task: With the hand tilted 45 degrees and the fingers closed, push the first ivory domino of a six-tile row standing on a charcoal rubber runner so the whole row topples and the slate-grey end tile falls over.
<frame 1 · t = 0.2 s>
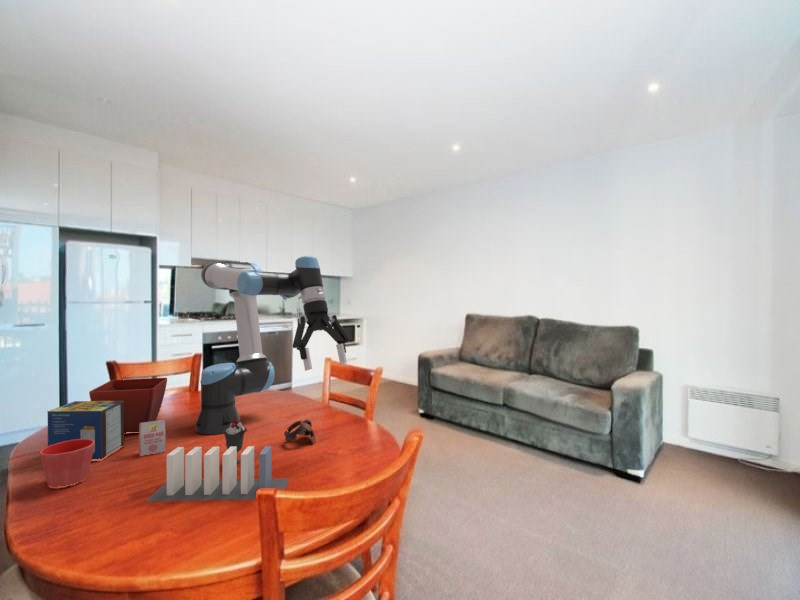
hand: (326, 366, 117), 28 cm above the table, tool tilted 20°, fingers open, 13 cm apart
domino 5: (247, 488, 96), resting on runner mat
runner mat: (221, 491, 95), on the table
protein box: (87, 455, 116), on the table
domino 3: (211, 489, 95), resting on runner mat
domino 1: (175, 490, 95), resting on runner mat
tea bag: (152, 453, 118), on the table
plant pot: (131, 429, 137), on the table
dark brown curved piece: (302, 442, 128), on the table
domino 2: (193, 489, 95), resting on runner mat
flower pot: (68, 482, 99), on the table
domino 4: (229, 489, 95), resting on runner mat
domino 6: (265, 488, 96), resting on runner mat
sundae: (234, 465, 110), on the table
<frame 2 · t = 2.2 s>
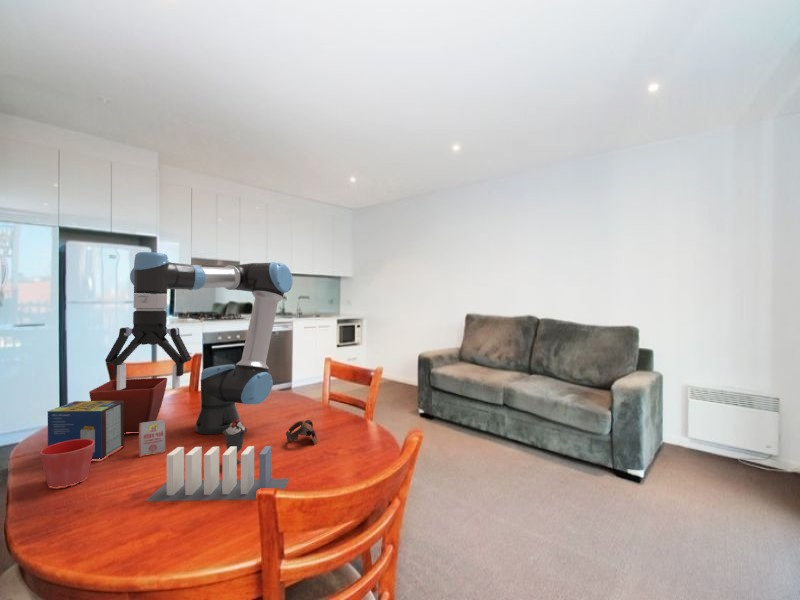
hand: (148, 388, 100), 25 cm above the table, tool pointing down, fingers open, 13 cm apart
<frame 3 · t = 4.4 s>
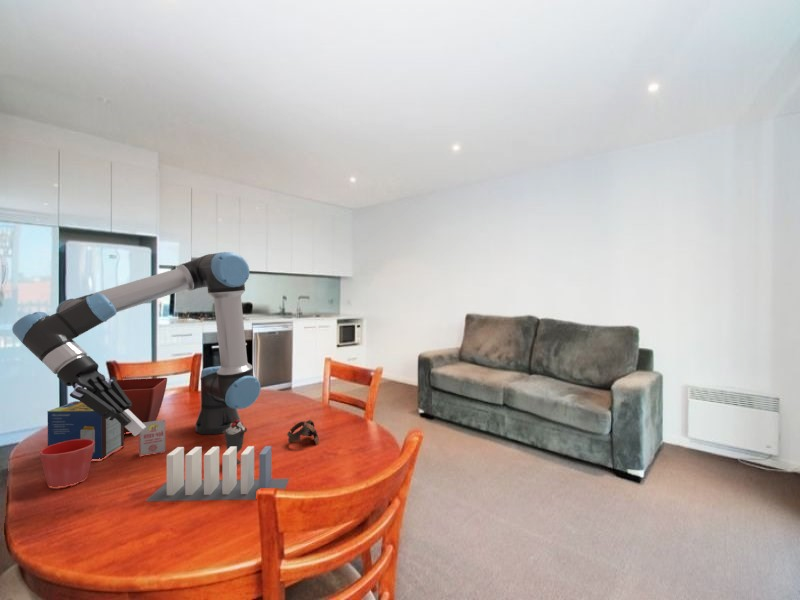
hand: (140, 431, 94), 16 cm above the table, tool tilted 45°, fingers closed
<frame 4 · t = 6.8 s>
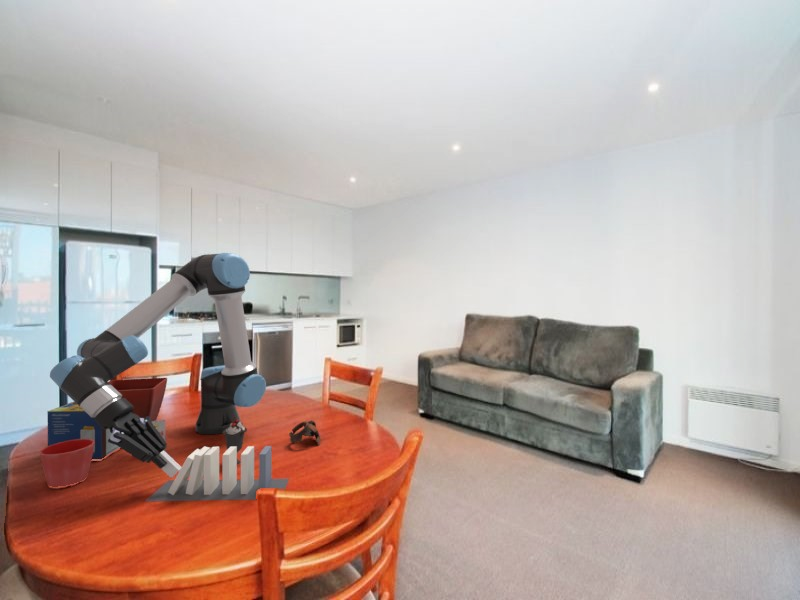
hand: (176, 472, 94), 5 cm above the table, tool tilted 45°, fingers closed
domino 1: (176, 488, 95), point 1 cm above the table, tilted 29°, touching runner mat
domino 2: (193, 489, 95), point 1 cm above the table, tilted 13°, touching runner mat
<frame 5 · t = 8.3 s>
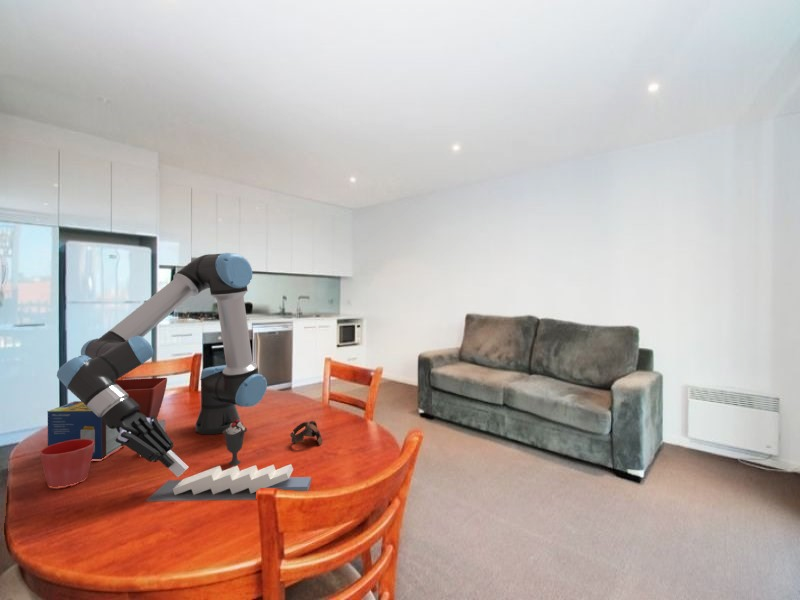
hand: (183, 472, 95), 5 cm above the table, tool tilted 45°, fingers closed
domino 5: (253, 485, 96), point 1 cm above the table, tilted 69°, touching domino 4, domino 6
domino 3: (216, 486, 95), point 1 cm above the table, tilted 69°, touching domino 2, domino 4, runner mat
domino 1: (179, 486, 95), point 1 cm above the table, tilted 70°, touching domino 2
domino 2: (197, 486, 95), point 1 cm above the table, tilted 70°, touching domino 1, domino 3, runner mat
domino 4: (234, 486, 95), point 1 cm above the table, tilted 69°, touching domino 3, domino 5, runner mat
domino 6: (269, 485, 96), point 1 cm above the table, tilted 90°, touching domino 5, runner mat
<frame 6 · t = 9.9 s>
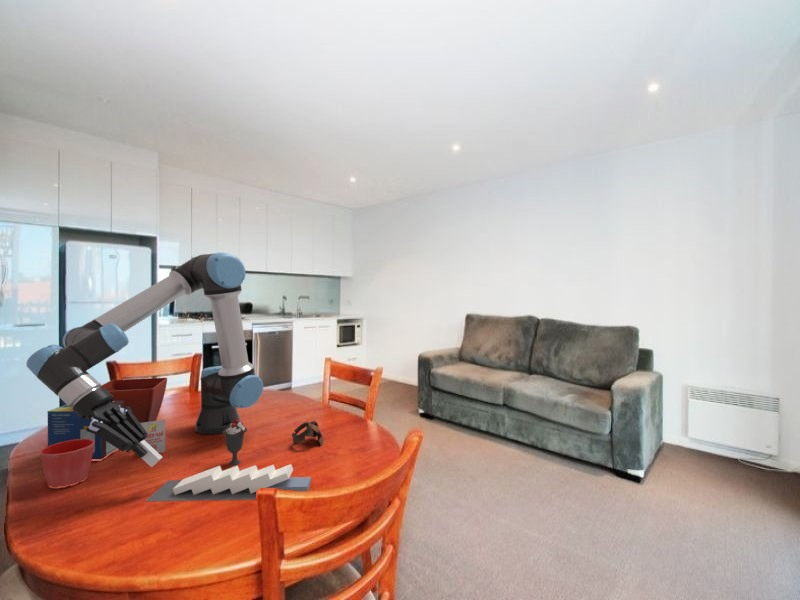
hand: (157, 462, 94), 8 cm above the table, tool tilted 45°, fingers closed
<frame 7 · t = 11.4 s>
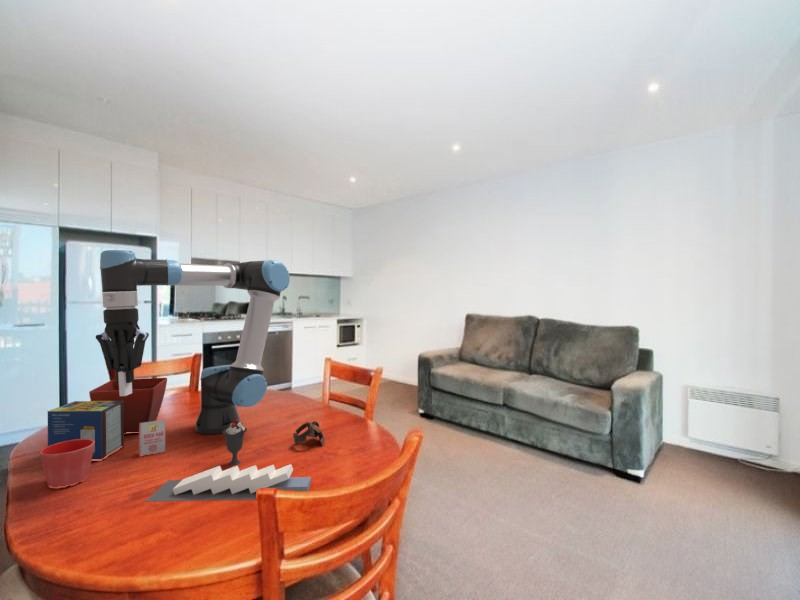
hand: (126, 394, 101), 23 cm above the table, tool pointing down, fingers closed
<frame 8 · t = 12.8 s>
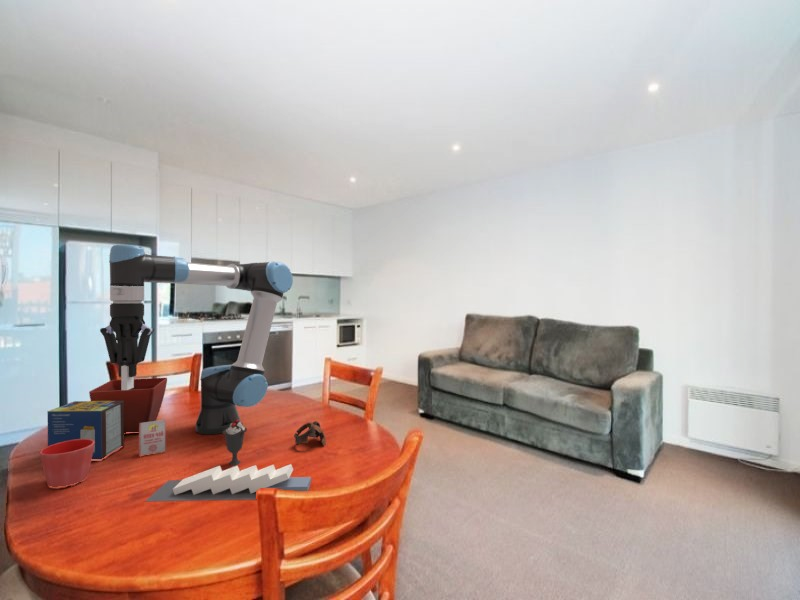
hand: (127, 388, 101), 24 cm above the table, tool pointing down, fingers closed
at the end: domino 6 tilted 90°; domino 1 tilted 70° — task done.
